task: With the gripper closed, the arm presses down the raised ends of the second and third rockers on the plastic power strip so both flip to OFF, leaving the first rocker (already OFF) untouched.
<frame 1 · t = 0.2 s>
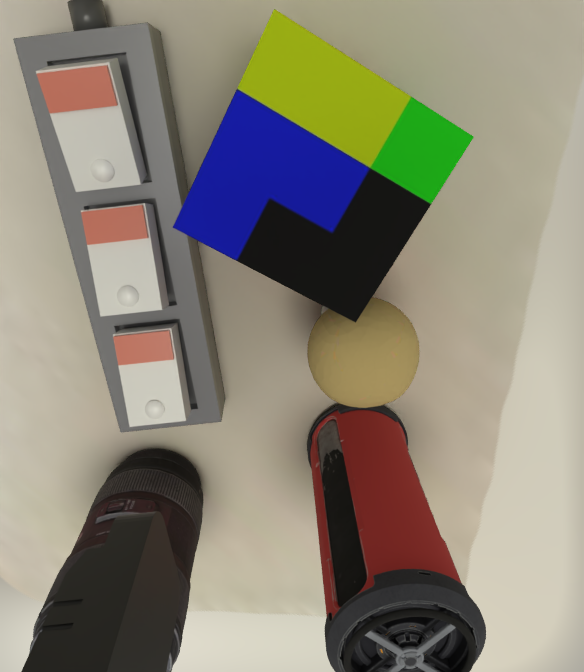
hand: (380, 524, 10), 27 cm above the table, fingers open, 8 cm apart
light bulb: (346, 308, 37), on the table, touching puzzle toy
power strip: (144, 245, 35), on the table
rocker 3: (153, 375, 34), point 4 cm above the table, hinge at -11.0°
rocker 1: (95, 127, 28), point 4 cm above the table, hinge at 11.0°
speaker: (355, 439, 41), on the table
rocker 2: (126, 260, 31), point 4 cm above the table, hinge at -11.0°
camera lens: (158, 481, 42), on the table
puzzle toy: (307, 164, 33), on the table, touching light bulb
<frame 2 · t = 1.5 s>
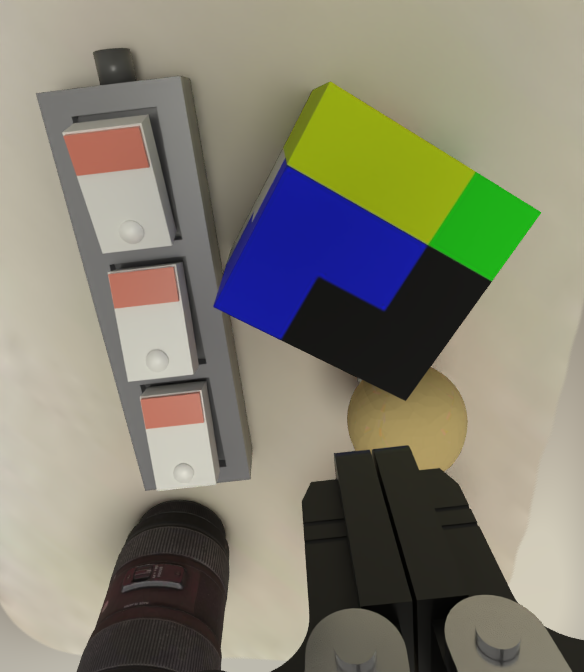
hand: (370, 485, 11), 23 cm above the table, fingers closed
light bulb: (381, 359, 35), on the table, touching puzzle toy
power strip: (170, 297, 33), on the table
rocker 3: (181, 436, 32), point 4 cm above the table, hinge at -11.0°
rocker 1: (124, 187, 26), point 4 cm above the table, hinge at 11.0°
rocker 2: (154, 321, 29), point 4 cm above the table, hinge at -11.0°
camera lens: (181, 532, 41), on the table
puzzle toy: (343, 215, 32), on the table, touching light bulb
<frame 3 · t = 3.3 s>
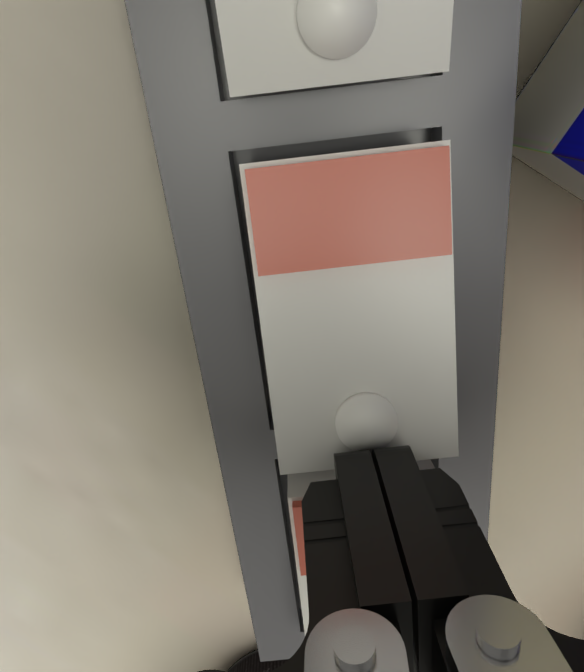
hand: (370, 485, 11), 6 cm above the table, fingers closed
power strip: (331, 256, 15), on the table
rocker 3: (369, 578, 14), point 4 cm above the table, hinge at -11.0°
rocker 2: (352, 312, 11), point 4 cm above the table, hinge at -8.6°, touching gripper
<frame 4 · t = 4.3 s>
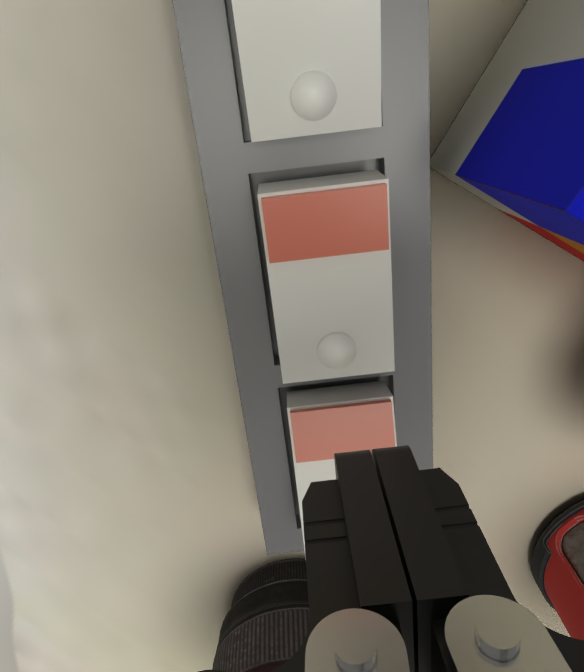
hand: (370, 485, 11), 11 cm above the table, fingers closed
power strip: (318, 246, 20), on the table
rocker 3: (345, 473, 19), point 4 cm above the table, hinge at -11.0°
rocker 1: (304, 5, 14), point 4 cm above the table, hinge at 11.0°
rocker 2: (328, 281, 16), point 4 cm above the table, hinge at 2.0°
camera lens: (294, 603, 28), on the table
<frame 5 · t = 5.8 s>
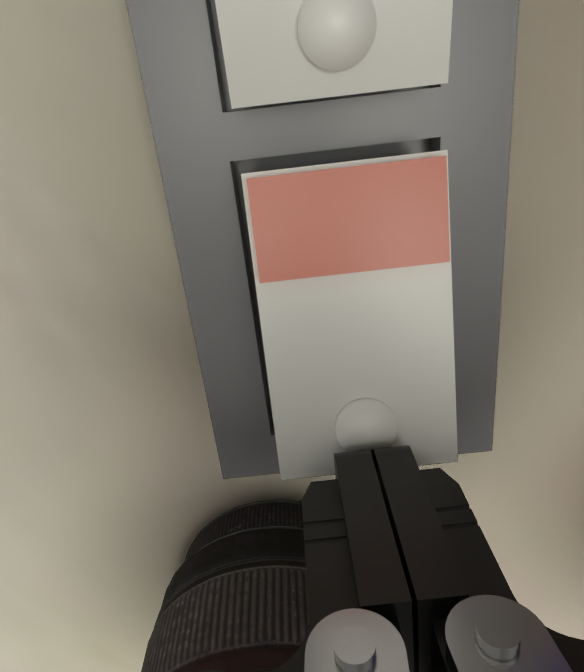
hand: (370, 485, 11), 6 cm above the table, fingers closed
rocker 3: (352, 319, 11), point 4 cm above the table, hinge at -9.5°, touching gripper
camera lens: (274, 565, 20), on the table
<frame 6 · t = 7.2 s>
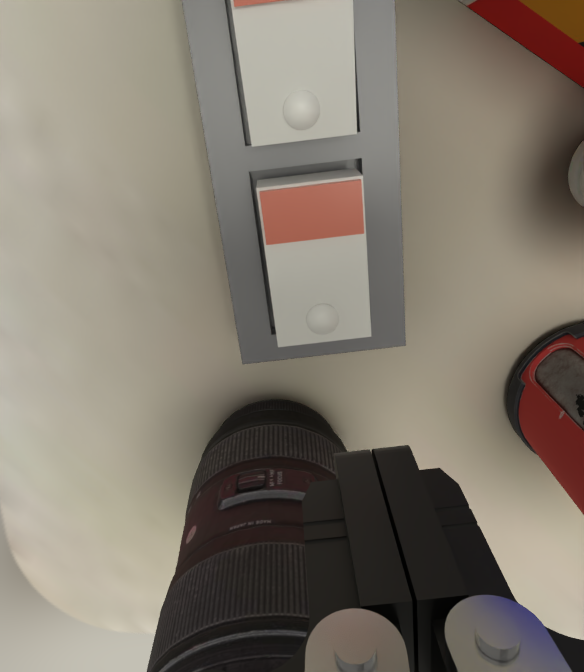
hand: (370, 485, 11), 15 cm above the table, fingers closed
power strip: (289, 46, 21), on the table
rocker 3: (316, 261, 20), point 4 cm above the table, hinge at 2.2°
speaker: (575, 385, 27), on the table
rocker 2: (294, 37, 17), point 4 cm above the table, hinge at 13.4°
camera lens: (274, 451, 29), on the table
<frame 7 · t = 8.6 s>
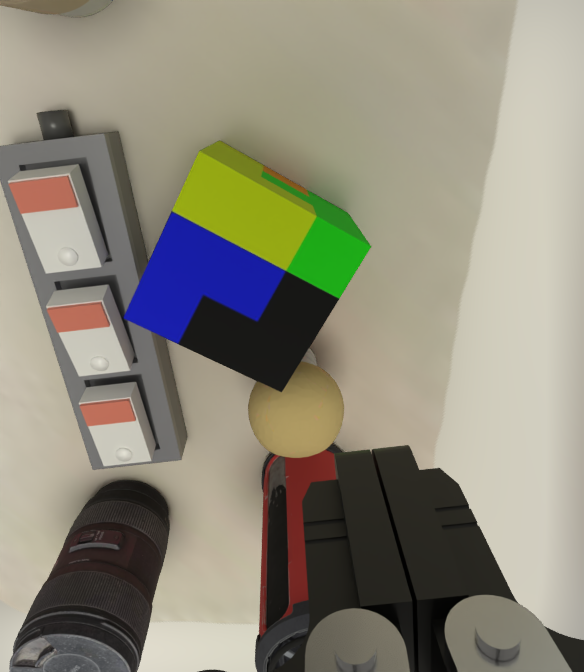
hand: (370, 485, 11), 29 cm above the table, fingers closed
light bulb: (292, 359, 42), on the table, touching puzzle toy
power strip: (110, 307, 40), on the table
rocker 3: (119, 426, 39), point 4 cm above the table, hinge at 7.4°
rocker 1: (61, 221, 33), point 4 cm above the table, hinge at 11.0°
speaker: (306, 471, 46), on the table
rocker 2: (92, 333, 36), point 4 cm above the table, hinge at 15.1°
camera lens: (130, 508, 47), on the table
puzzle toy: (252, 240, 38), on the table, touching light bulb
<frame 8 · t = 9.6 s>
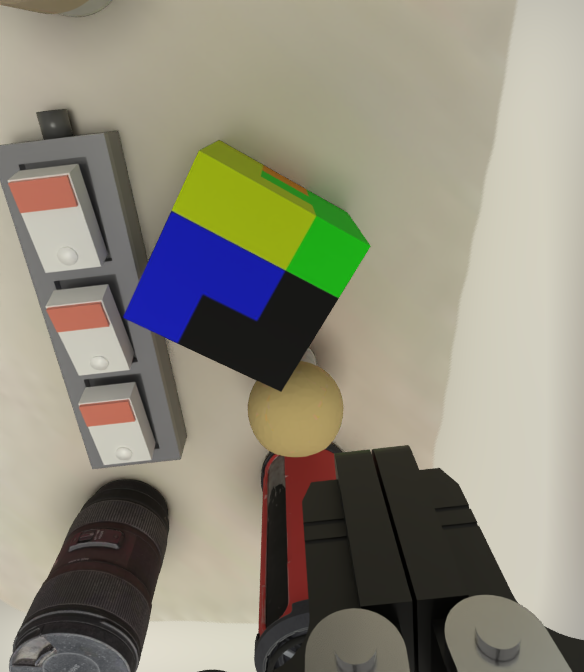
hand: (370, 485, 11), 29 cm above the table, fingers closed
light bulb: (291, 358, 42), on the table, touching puzzle toy
power strip: (110, 307, 40), on the table
rocker 3: (118, 425, 39), point 4 cm above the table, hinge at 9.4°
rocker 1: (60, 220, 33), point 4 cm above the table, hinge at 11.0°
speaker: (305, 470, 46), on the table
rocker 2: (92, 332, 36), point 4 cm above the table, hinge at 15.7°
camera lens: (130, 508, 47), on the table
puzzle toy: (251, 240, 38), on the table, touching light bulb
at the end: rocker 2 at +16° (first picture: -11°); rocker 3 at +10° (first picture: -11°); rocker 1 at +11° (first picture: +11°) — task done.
